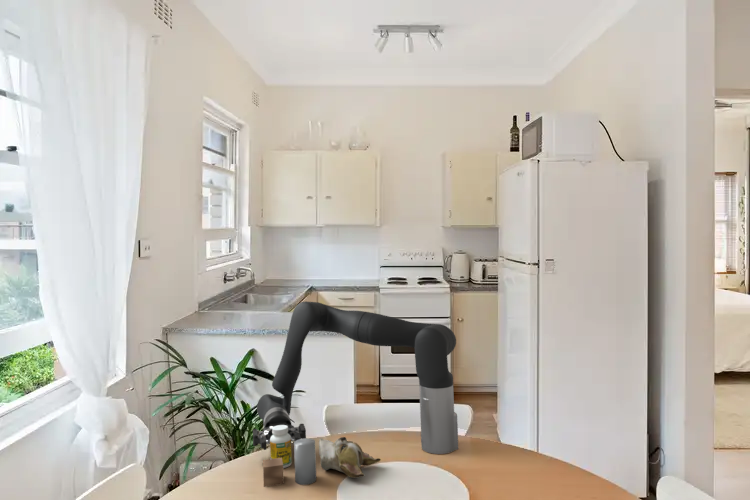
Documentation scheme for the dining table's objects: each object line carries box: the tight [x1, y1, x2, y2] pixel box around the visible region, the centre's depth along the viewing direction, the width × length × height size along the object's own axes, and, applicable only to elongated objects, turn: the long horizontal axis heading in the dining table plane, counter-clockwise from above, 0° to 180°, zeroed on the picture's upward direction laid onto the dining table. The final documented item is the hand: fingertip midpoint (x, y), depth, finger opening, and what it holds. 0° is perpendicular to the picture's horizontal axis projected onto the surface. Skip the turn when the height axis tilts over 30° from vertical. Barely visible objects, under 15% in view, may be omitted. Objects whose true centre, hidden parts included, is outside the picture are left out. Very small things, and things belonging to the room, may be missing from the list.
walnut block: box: [262, 458, 284, 487], centre depth 118 cm, size 4×4×4 cm
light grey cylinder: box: [293, 437, 317, 486], centre depth 118 cm, size 5×5×9 cm
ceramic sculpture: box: [318, 436, 382, 479], centre depth 122 cm, size 11×9×15 cm
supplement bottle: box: [269, 425, 293, 469], centre depth 128 cm, size 5×5×10 cm
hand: (281, 444), depth 126 cm, fingers open, 7 cm apart
